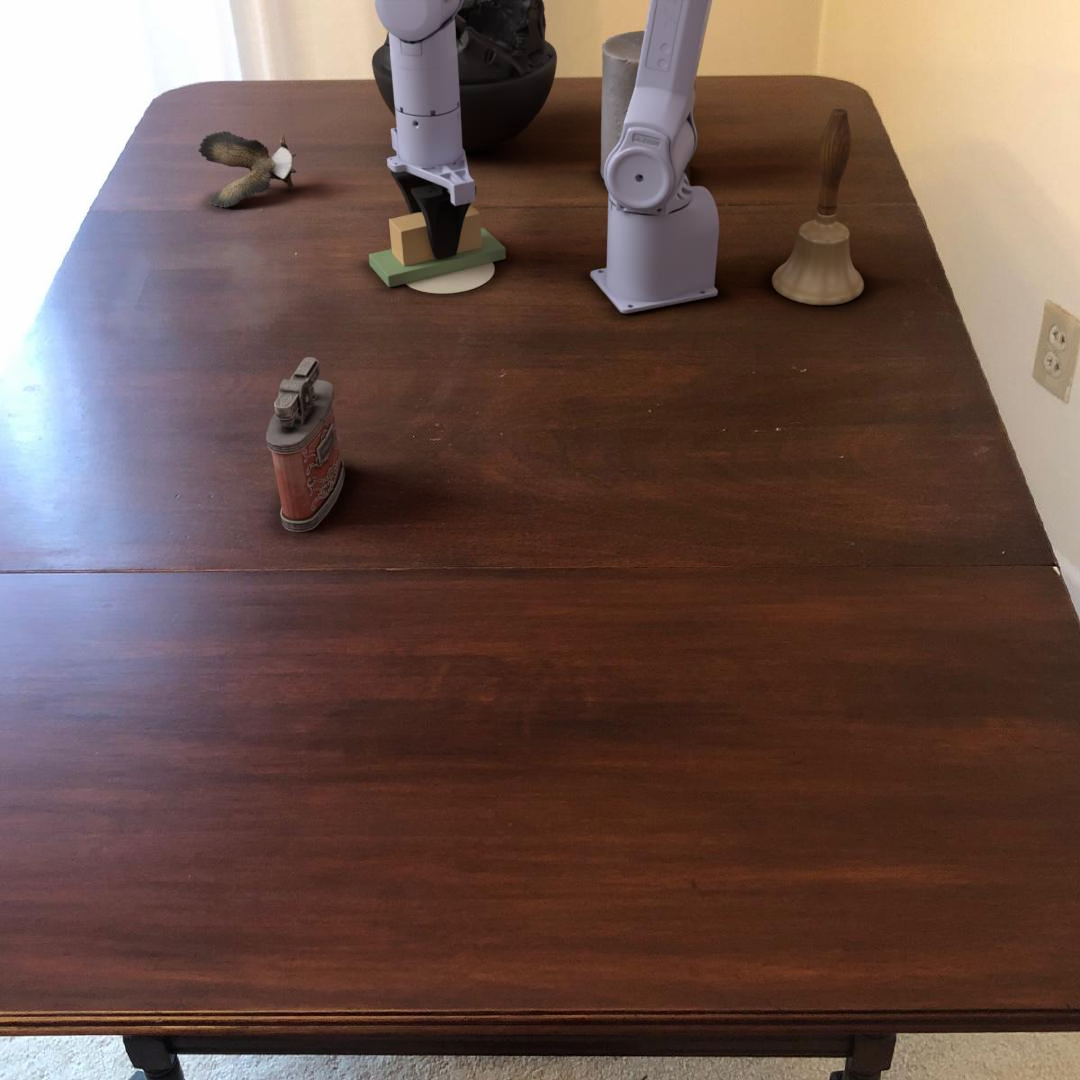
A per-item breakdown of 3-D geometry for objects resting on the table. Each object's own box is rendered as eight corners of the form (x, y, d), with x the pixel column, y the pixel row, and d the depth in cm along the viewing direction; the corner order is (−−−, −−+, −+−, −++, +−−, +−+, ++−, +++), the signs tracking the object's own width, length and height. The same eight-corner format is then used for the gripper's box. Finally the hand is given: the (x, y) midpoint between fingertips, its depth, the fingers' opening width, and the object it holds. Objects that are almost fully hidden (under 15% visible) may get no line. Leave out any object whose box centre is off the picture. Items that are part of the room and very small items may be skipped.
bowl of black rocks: (343, 155, 136) (322, -24, 124) (453, 100, 149) (443, -67, 137) (487, 197, 127) (479, 9, 115) (591, 135, 140) (593, -41, 128)
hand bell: (761, 296, 110) (782, 122, 100) (783, 257, 116) (804, 88, 106) (853, 313, 108) (884, 136, 98) (871, 271, 114) (901, 101, 104)
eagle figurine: (276, 158, 133) (193, 159, 129) (290, 115, 127) (203, 114, 123) (294, 217, 131) (210, 220, 127) (308, 176, 125) (221, 178, 121)
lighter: (317, 534, 85) (298, 415, 79) (271, 528, 86) (248, 409, 79) (354, 467, 91) (338, 351, 85) (311, 462, 92) (292, 346, 85)
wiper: (506, 259, 117) (504, 212, 114) (389, 287, 112) (384, 240, 109) (483, 238, 120) (481, 192, 117) (369, 265, 116) (364, 219, 113)
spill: (477, 242, 120) (477, 242, 119) (507, 283, 113) (507, 283, 113) (388, 258, 117) (388, 257, 117) (413, 300, 111) (413, 300, 111)
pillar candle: (705, 169, 132) (716, 25, 123) (662, 202, 126) (670, 53, 116) (626, 151, 136) (631, 11, 127) (582, 182, 130) (583, 37, 120)
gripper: (355, 86, 110) (370, 226, 119) (417, 141, 100) (428, 290, 109) (427, 73, 113) (436, 211, 121) (494, 125, 103) (500, 272, 111)
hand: (437, 248), depth 115 cm, fingers closed on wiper, 3 cm apart
